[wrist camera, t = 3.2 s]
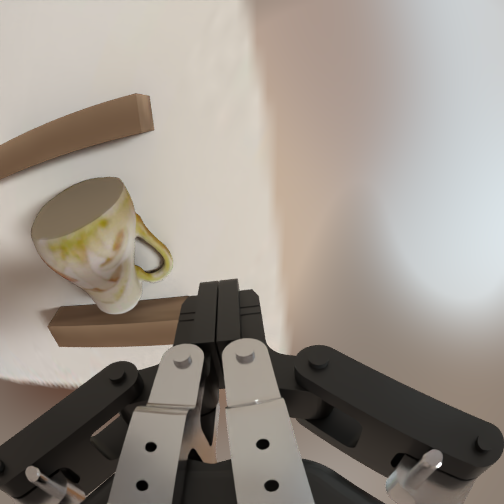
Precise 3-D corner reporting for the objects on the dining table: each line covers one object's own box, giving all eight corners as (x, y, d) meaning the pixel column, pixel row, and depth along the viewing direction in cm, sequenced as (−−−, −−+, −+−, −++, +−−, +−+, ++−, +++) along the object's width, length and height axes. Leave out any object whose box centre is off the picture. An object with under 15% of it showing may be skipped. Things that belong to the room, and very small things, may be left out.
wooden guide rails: (8, 145, 16) (-14, 153, 14) (149, 96, 16) (135, 93, 14) (70, 326, 24) (59, 346, 22) (194, 318, 24) (191, 342, 22)
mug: (101, 302, 24) (15, 320, 14) (106, 192, 24) (21, 167, 14) (175, 314, 22) (94, 348, 12) (181, 189, 22) (103, 149, 12)
